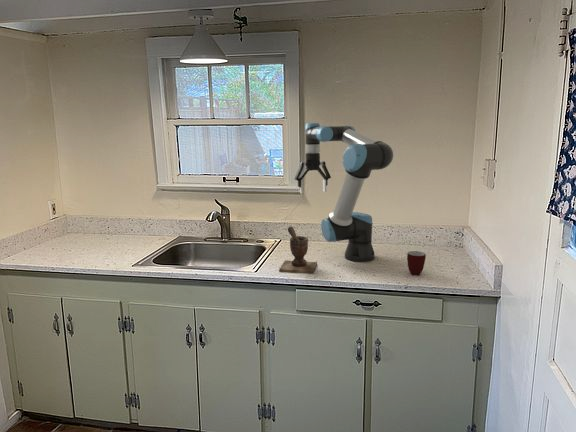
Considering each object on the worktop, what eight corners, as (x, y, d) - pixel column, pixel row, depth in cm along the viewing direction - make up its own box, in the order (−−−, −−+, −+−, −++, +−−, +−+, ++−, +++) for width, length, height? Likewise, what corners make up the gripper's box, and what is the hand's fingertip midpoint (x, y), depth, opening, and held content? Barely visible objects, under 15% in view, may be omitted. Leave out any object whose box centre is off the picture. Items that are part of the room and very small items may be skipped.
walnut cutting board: (316, 264, 235) (317, 262, 234) (313, 273, 221) (313, 271, 221) (285, 262, 238) (284, 260, 237) (279, 271, 224) (279, 269, 224)
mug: (404, 269, 226) (405, 249, 224) (421, 270, 226) (422, 249, 224) (407, 277, 216) (409, 255, 214) (426, 277, 216) (427, 256, 214)
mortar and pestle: (302, 270, 222) (303, 228, 218) (285, 268, 225) (285, 226, 221) (309, 262, 233) (310, 222, 229) (293, 261, 236) (293, 221, 232)
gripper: (330, 151, 261) (330, 190, 265) (288, 153, 252) (288, 193, 256) (337, 152, 254) (336, 191, 258) (293, 153, 245) (293, 194, 249)
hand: (312, 192), depth 257 cm, fingers open, 13 cm apart
